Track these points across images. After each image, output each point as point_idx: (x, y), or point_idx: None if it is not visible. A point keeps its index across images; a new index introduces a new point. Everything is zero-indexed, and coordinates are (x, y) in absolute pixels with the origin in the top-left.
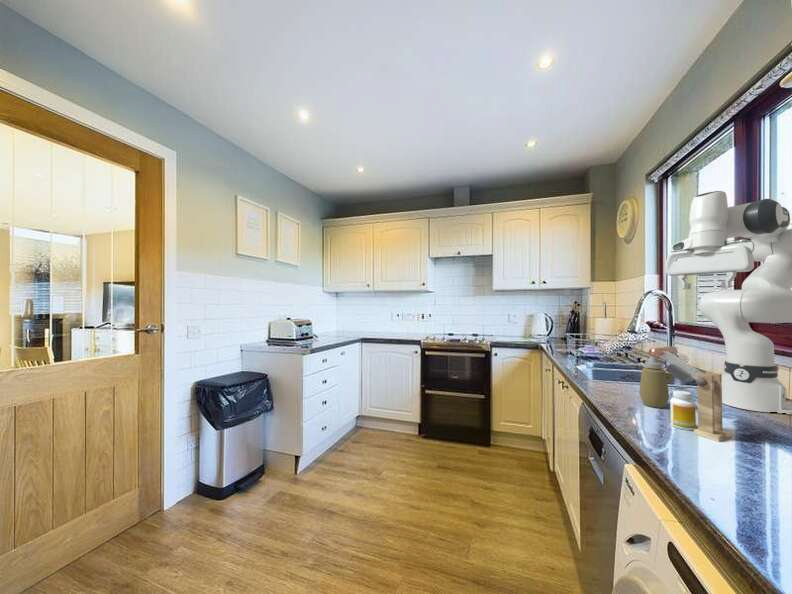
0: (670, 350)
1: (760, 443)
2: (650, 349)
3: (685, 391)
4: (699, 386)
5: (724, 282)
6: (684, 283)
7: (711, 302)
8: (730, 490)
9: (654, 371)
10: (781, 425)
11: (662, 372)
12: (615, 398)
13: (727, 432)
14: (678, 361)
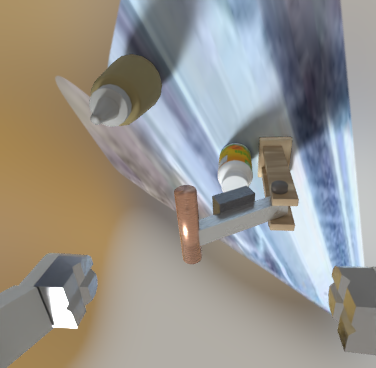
0: (197, 218)
1: (323, 130)
2: (185, 261)
3: (234, 176)
4: None
5: (367, 344)
6: (51, 323)
7: None
8: (331, 274)
9: (131, 120)
10: None
11: (140, 106)
12: (83, 101)
13: (289, 147)
14: (233, 233)
